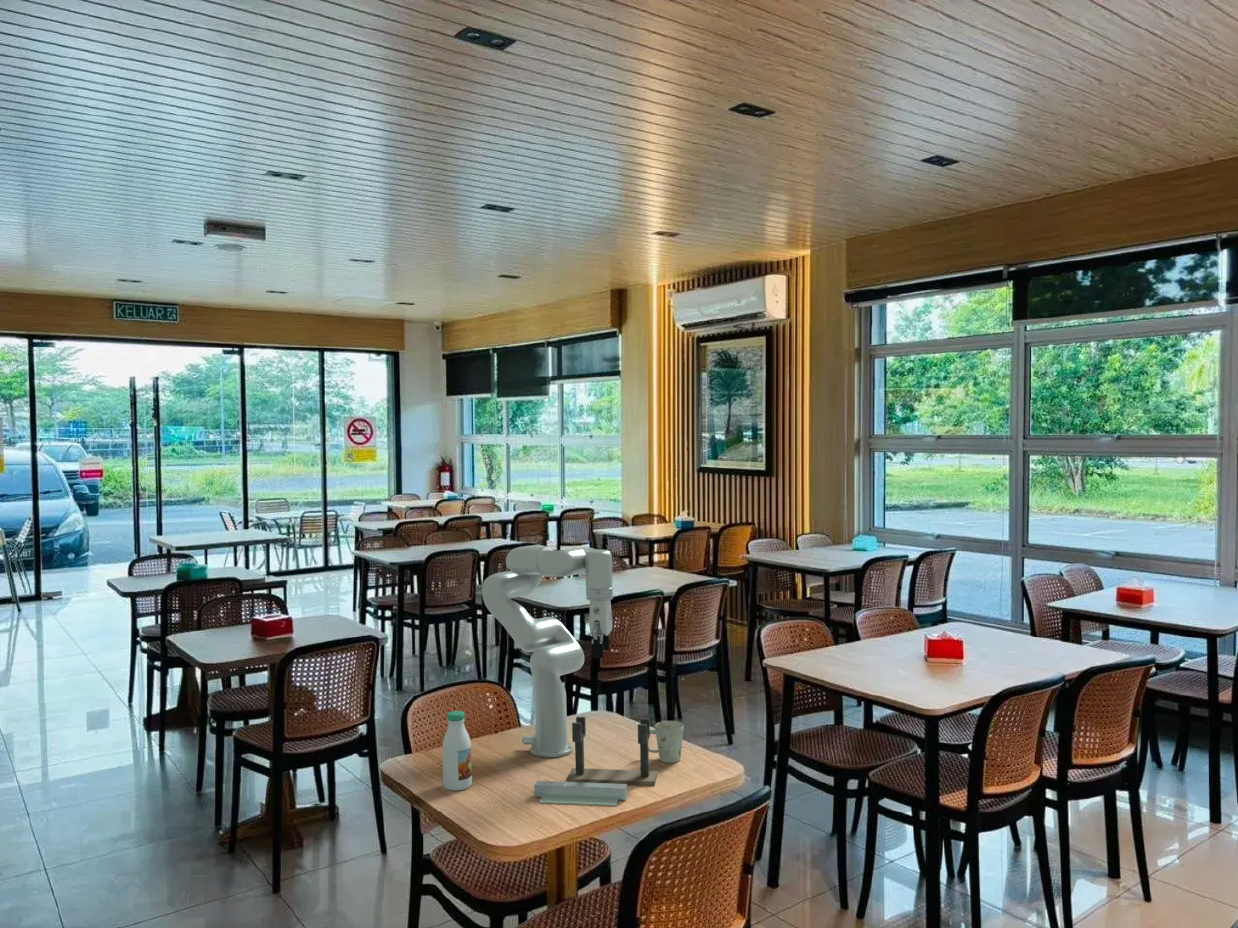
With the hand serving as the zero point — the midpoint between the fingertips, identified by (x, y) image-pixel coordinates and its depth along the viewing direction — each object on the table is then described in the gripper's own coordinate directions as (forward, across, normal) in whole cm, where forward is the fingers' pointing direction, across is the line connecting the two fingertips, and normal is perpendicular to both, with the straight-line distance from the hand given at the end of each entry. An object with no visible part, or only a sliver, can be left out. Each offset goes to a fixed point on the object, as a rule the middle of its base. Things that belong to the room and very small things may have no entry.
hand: (600, 653), depth 260 cm
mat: (+32, -23, +2) cm, 40 cm away
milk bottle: (+32, -18, +37) cm, 52 cm away
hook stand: (+32, -9, -4) cm, 34 cm away
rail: (+32, -23, +2) cm, 39 cm away
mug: (+32, +8, -16) cm, 37 cm away
